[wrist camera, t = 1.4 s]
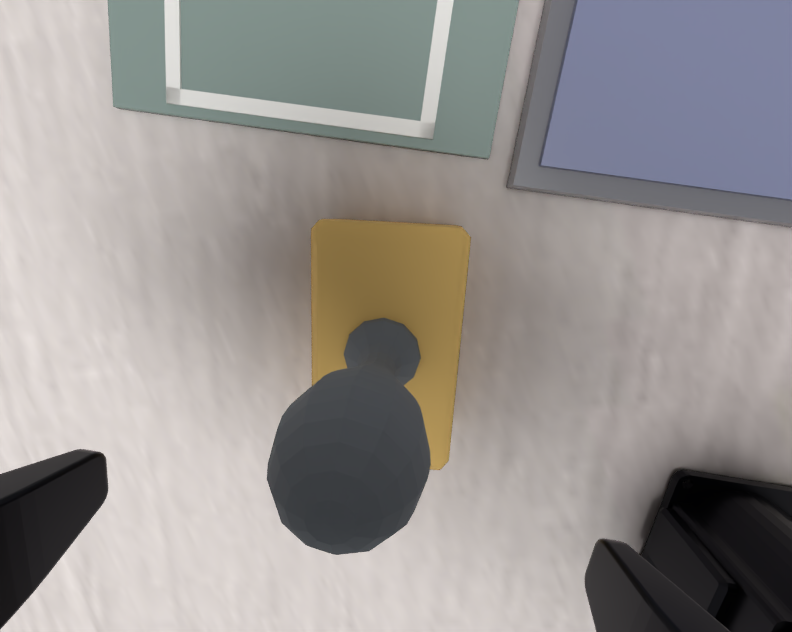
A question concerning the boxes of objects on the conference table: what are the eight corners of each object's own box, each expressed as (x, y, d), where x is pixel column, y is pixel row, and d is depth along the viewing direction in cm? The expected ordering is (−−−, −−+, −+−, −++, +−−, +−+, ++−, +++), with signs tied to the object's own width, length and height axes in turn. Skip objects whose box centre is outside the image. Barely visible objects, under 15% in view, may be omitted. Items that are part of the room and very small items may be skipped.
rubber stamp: (332, 218, 17) (131, 216, 5) (462, 225, 16) (553, 239, 5) (331, 416, 19) (193, 712, 8) (443, 426, 19) (474, 749, 7)
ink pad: (980, -223, 12) (1058, -285, 10) (796, 227, 15) (835, 228, 14) (598, -261, 12) (621, -325, 11) (506, 187, 16) (515, 184, 14)
